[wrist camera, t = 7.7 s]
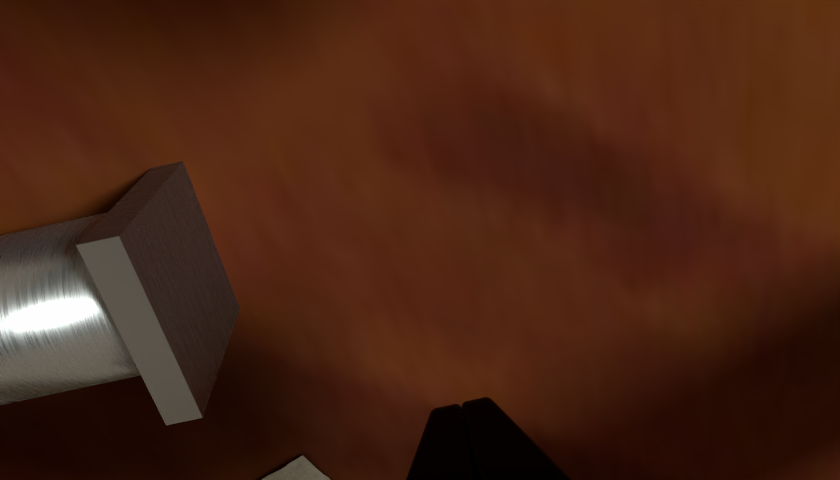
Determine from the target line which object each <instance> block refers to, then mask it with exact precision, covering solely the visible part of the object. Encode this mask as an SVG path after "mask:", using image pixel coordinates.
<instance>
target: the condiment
mask: <svg viewBox="0 0 840 480" xmlns="http://www.w3.org/2000/svg"><path fill="white" fill-rule="evenodd" d="M262 480H330V479H329V478H328V477H327V476H325V475H323V474H322V473H321V472H320V471H319V470H318V469H317V468H316V467H315V466H313V465H312V464H311V463H310V462H309V461H308V460H307V459H306V458H305V457H304V456H301V457H299V458H298V459H296V460H294V461H292V462H291V463H289V464H288V465H287V466H285V467H284V468H282V469H280V470H278V471H277V472H274V473H272V474H270V475H268V476H267V477H265V478H263V479H262Z"/></svg>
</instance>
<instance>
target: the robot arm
mask: <svg viewBox="0 0 840 480" xmlns="http://www.w3.org/2000/svg"><path fill="white" fill-rule="evenodd" d="M462 412H463V414H462ZM463 417H464V418H463ZM464 421H465V422H464ZM465 426H466V427H465ZM466 430H467V431H466ZM467 435H468V436H467ZM468 439H469V440H468ZM469 444H470V445H469ZM470 448H471V449H470ZM471 453H472V454H471ZM474 466H475V467H474ZM476 475H477V476H476ZM406 480H571V479H570V478H569V477H568V476H567V475H566V474H565V473H564V472H563V470H562V469H561V468H560V467H559V466H558V465H557V464H556V463H555V462H554V461H553V460H552V459H551V458H550V457H549V456H548V455H547V454H546V453H545V452H544V451H543V450H542V449H541V448H540V447H539V446H538V445H537V444H536V443H535V442H534V441H533V440H532V439H531V438H530V437H529V436H528V435H527V434H526V433H525V432H524V431H523V430H522V429H521V428H520V427H519V426H518V425H517V424H516V423H515V422H514V421H513V420H512V419H511V418H510V417H509V416H508V415H507V414H506V413H505V412H504V411H503V410H502V409H501V408H500V407H499V406H498V405H497V404H496V403H495V402H494V401H493V400H491V399H490V398H488V397H484V398H480V399H475V400H471V401H466V402H464V403H463V404H462V409H461V406H460V405H458V404H453V405H448V406H444V407H439V408H435V409H433V410H432V411H431V413H430V416H429V418H428V421H427V424H426V426H425V429H424V432H423V435H422V437H421V440H420V443H419V446H418V448H417V451H416V454H415V457H414V459H413V462H412V465H411V468H410V470H409V473H408V476H407V479H406Z"/></svg>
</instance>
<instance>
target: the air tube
mask: <svg viewBox="0 0 840 480" xmlns="http://www.w3.org/2000/svg"><path fill="white" fill-rule="evenodd" d="M239 310H240V308H239V305H238V302H237V300H236V297H235V295H234V292H233V289H232V287H231V284H230V282H229V279H228V276H227V274H226V271H225V269H224V266H223V263H222V261H221V258H220V256H219V253H218V250H217V248H216V245H215V243H214V240H213V237H212V235H211V232H210V230H209V227H208V224H207V222H206V219H205V217H204V214H203V211H202V209H201V206H200V204H199V201H198V198H197V196H196V193H195V191H194V188H193V185H192V183H191V180H190V177H189V175H188V172H187V170H186V167H185V164H184V162H183V161H181V162H176V163H172V164H167V165H162V166H157V167H153V168H151V169H150V170H149V171H148V172H147V173H146V174H145V175H144V176H143V177H142V178H141V179H140V180H139V181H138V182H137V183H136V184H135V185H134V186H133V187H132V188H131V189H130V190H129V191H128V192H127V193H126V194H125V195H124V196H123V198H122V199H121V200H120V201H119V202H118V203H117V204H116V205H115V206H114V207H113V208H112V209H111V210H110V211H109V212H108V213H103V214H99V215H94V216H89V217H85V218H80V219H75V220H70V221H66V222H61V223H56V224H52V225H47V226H42V227H37V228H33V229H28V230H23V231H18V232H14V233H9V234H4V235H0V405H3V404H8V403H13V402H17V401H22V400H27V399H32V398H36V397H41V396H46V395H51V394H55V393H60V392H65V391H70V390H74V389H79V388H84V387H89V386H93V385H98V384H103V383H108V382H112V381H117V380H122V379H127V378H131V377H136V376H142V378H143V380H144V382H145V384H146V386H147V388H148V390H149V392H150V394H151V396H152V398H153V400H154V402H155V404H156V406H157V408H158V410H159V412H160V414H161V416H162V418H163V420H164V422H165V424H166V425H171V424H176V423H180V422H185V421H190V420H195V419H199V418H203V416H204V413H205V410H206V407H207V404H208V401H209V398H210V395H211V392H212V389H213V386H214V383H215V380H216V378H217V375H218V372H219V369H220V366H221V363H222V360H223V357H224V354H225V351H226V348H227V345H228V342H229V340H230V337H231V334H232V331H233V328H234V325H235V322H236V319H237V316H238V313H239Z"/></svg>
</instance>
